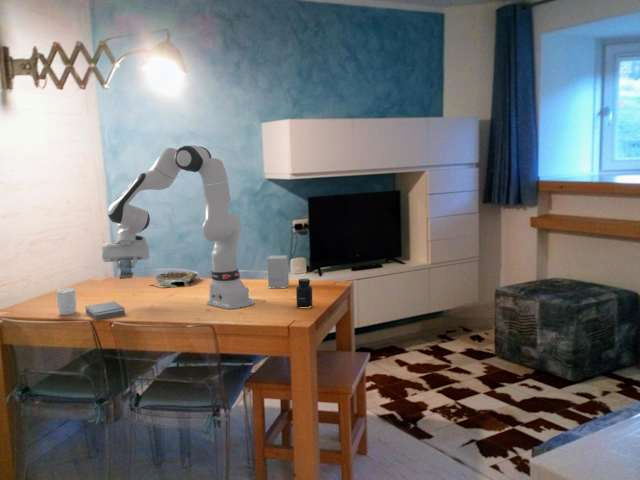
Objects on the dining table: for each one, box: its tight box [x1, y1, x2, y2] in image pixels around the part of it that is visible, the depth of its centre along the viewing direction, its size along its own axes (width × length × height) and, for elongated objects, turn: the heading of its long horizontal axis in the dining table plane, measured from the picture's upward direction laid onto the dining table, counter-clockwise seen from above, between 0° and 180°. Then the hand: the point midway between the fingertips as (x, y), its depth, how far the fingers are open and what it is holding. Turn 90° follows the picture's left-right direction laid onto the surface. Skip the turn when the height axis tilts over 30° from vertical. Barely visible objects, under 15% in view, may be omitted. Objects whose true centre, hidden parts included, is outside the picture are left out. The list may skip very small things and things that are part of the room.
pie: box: [151, 271, 198, 289], centre depth 310 cm, size 28×27×5 cm
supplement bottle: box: [295, 278, 313, 308], centre depth 252 cm, size 7×7×12 cm
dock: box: [84, 301, 126, 320], centre depth 251 cm, size 14×12×3 cm
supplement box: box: [266, 255, 290, 289], centre depth 292 cm, size 9×9×15 cm
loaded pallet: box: [119, 259, 134, 280], centre depth 263 cm, size 7×5×8 cm
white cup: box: [55, 287, 77, 316], centre depth 254 cm, size 8×8×10 cm
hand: (125, 267), depth 262 cm, fingers closed on loaded pallet, 5 cm apart
